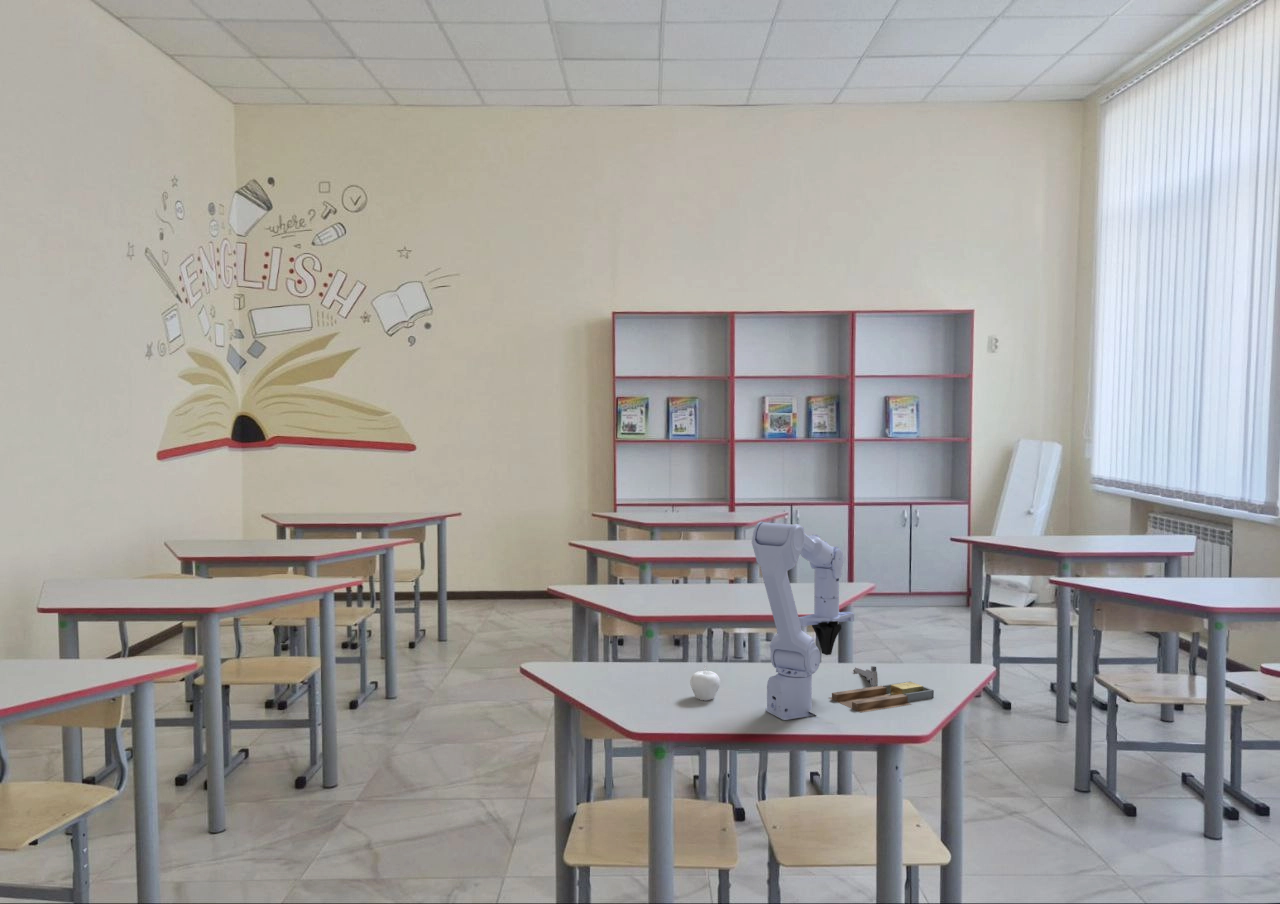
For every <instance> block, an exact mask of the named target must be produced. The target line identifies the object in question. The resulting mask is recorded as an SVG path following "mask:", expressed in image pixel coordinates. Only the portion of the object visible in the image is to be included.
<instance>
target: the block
mask: <svg viewBox="0 0 1280 904" xmlns="http://www.w3.org/2000/svg"><path fill="white" fill-rule="evenodd" d="M899 683H900V684H896V683H892V684H893V685H891V693H890V696H892V695H899V694H907V693H914V692H920V691H923V686H924V685H921V684H918V683H915V682H913V681H906V683H903V682H899Z"/></svg>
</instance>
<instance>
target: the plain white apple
mask: <svg viewBox="0 0 1280 904" xmlns="http://www.w3.org/2000/svg"><path fill="white" fill-rule="evenodd" d="M689 682H690V688H691V690H692V692H693V695H694V697H695V698H696V699H697V700H699V699H700V701H703V700H704V701H710V700H713V699H714V698H715V697H716V695H717V693H718V691H719V689H720V687H721V679H720V677H719V675H718V674H717V673H716V672H714V671H712V670H707V665H706V664H705V665H704V668H703V670H701V671H699V670H698V671H695V672H694V673H693V674H692V675H691V677H690V681H689Z"/></svg>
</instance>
